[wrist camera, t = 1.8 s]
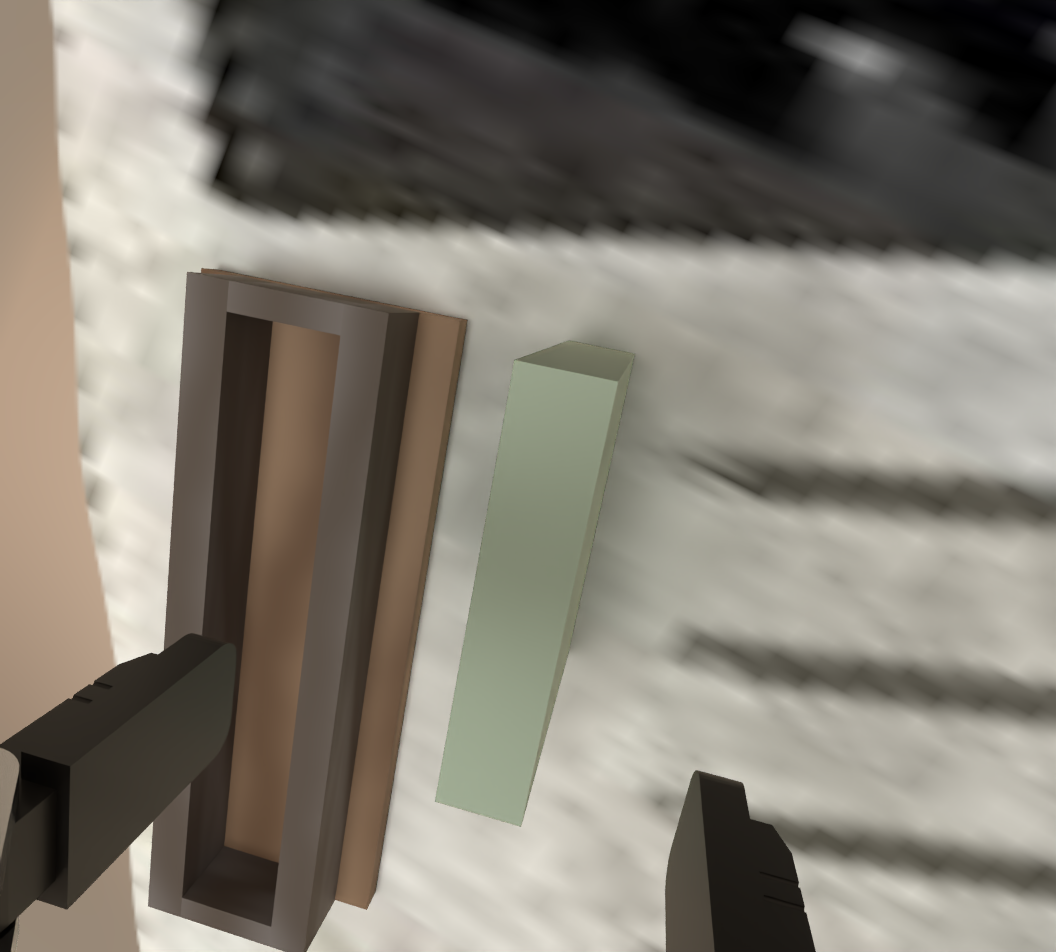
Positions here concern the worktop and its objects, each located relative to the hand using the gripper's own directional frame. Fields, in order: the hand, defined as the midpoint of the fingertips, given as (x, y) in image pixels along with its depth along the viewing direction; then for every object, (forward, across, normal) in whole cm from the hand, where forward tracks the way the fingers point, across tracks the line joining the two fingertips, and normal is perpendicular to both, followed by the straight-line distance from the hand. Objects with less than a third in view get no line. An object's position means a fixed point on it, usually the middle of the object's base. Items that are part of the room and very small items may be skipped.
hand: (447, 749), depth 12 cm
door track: (+16, +10, +7) cm, 20 cm away
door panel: (+16, 0, 0) cm, 16 cm away
